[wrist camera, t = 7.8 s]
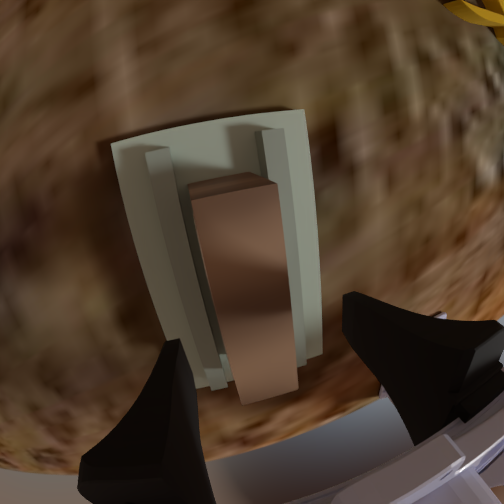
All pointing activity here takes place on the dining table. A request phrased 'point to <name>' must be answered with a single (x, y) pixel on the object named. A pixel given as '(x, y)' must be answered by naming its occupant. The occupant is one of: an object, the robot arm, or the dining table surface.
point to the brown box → (248, 280)
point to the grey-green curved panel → (184, 232)
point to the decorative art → (481, 14)
